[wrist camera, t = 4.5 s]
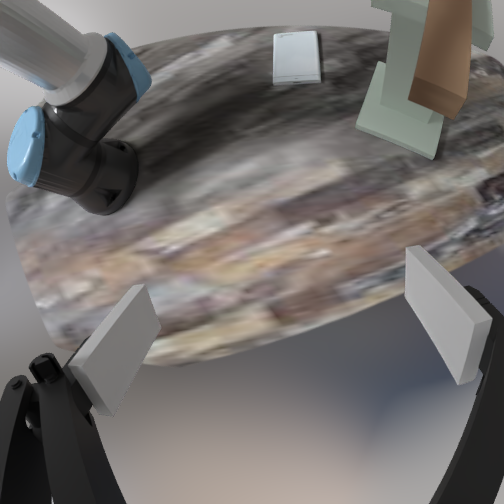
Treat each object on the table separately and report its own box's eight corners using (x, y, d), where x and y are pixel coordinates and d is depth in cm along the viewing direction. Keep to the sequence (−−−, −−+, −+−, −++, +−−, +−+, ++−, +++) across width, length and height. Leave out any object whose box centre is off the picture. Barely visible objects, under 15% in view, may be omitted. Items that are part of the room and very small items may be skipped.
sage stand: (353, 133, 44) (352, -15, 16) (379, 62, 43) (383, -75, 15) (430, 165, 40) (510, 46, 12) (448, 89, 39) (496, -35, 12)
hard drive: (273, 33, 48) (272, 82, 47) (316, 30, 46) (320, 79, 45) (275, 39, 49) (274, 87, 49) (317, 36, 47) (321, 84, 46)
